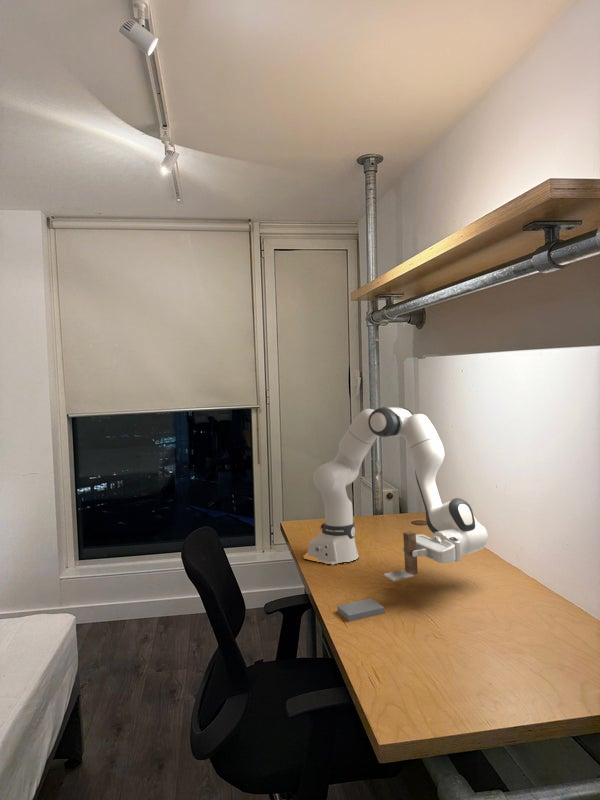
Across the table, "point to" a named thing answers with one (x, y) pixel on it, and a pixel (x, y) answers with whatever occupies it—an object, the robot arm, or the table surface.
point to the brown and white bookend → (406, 559)
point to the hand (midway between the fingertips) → (408, 551)
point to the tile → (360, 609)
